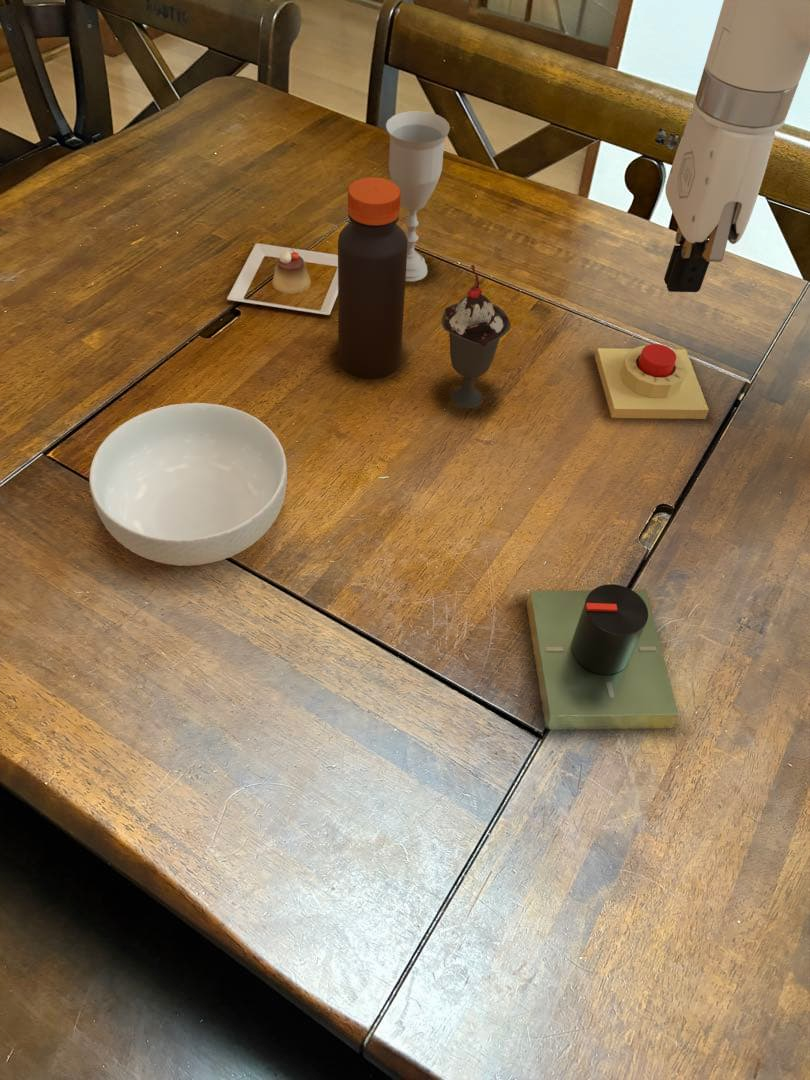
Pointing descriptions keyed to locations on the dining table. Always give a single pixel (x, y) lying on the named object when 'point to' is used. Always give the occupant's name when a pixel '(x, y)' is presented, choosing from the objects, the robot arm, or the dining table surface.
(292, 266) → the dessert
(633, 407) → the switch
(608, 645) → the hob knob
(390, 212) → the bottle
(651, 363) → the button
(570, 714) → the panel
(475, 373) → the sundae
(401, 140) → the chalice
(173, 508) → the cereal bowl
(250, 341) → the dining table surface
